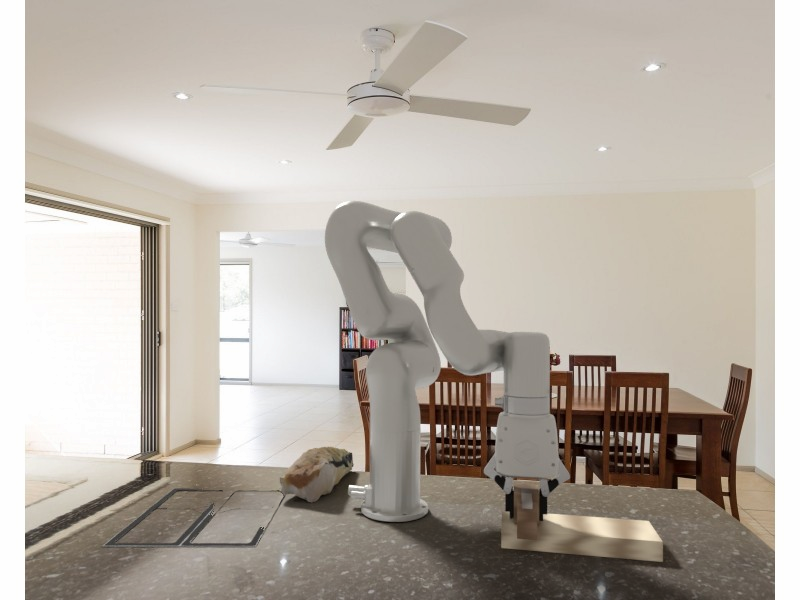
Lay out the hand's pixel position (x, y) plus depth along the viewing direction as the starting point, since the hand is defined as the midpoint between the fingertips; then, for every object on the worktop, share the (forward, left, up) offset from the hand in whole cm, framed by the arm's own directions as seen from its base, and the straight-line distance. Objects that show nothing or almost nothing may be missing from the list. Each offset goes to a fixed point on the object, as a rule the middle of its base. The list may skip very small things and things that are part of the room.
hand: (526, 516), depth 94 cm
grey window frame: (-57, -1, -4) cm, 57 cm away
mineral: (-42, +22, -4) cm, 47 cm away
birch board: (+8, 0, -4) cm, 9 cm away
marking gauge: (0, -2, -1) cm, 2 cm away
